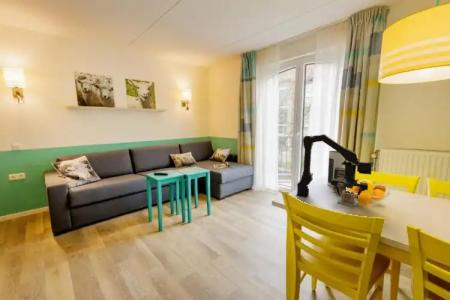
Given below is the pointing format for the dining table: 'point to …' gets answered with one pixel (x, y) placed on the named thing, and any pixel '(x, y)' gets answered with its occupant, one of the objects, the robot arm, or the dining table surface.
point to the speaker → (334, 164)
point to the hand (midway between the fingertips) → (347, 197)
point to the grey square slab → (347, 202)
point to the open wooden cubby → (347, 196)
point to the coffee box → (339, 175)
